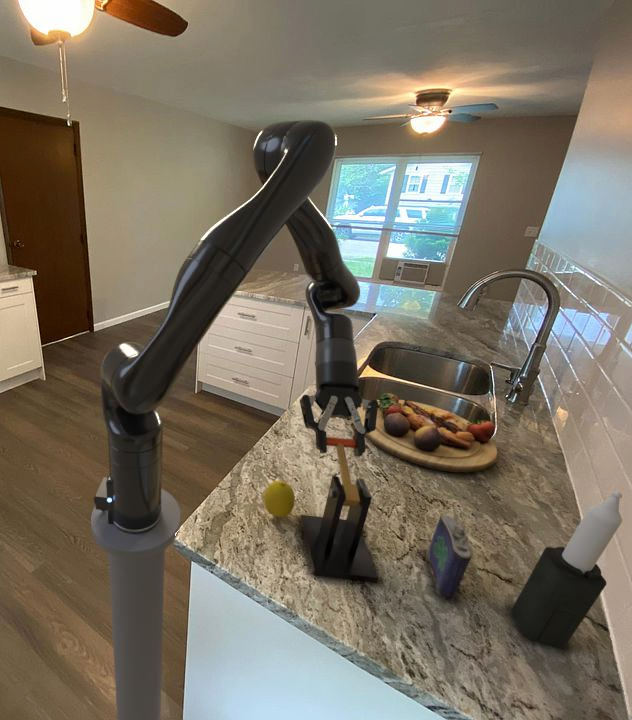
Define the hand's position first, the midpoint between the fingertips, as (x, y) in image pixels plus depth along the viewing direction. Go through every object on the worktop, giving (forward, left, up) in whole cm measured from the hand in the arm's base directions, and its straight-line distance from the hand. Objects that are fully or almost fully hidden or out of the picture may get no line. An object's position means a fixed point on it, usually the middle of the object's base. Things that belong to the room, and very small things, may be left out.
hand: (340, 454), depth 69 cm
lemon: (-10, -1, -15) cm, 18 cm away
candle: (+26, -17, -15) cm, 35 cm away
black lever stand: (0, -7, -15) cm, 16 cm away
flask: (+16, -10, -15) cm, 24 cm away
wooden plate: (+32, +34, -15) cm, 49 cm away
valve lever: (0, -3, -2) cm, 3 cm away
